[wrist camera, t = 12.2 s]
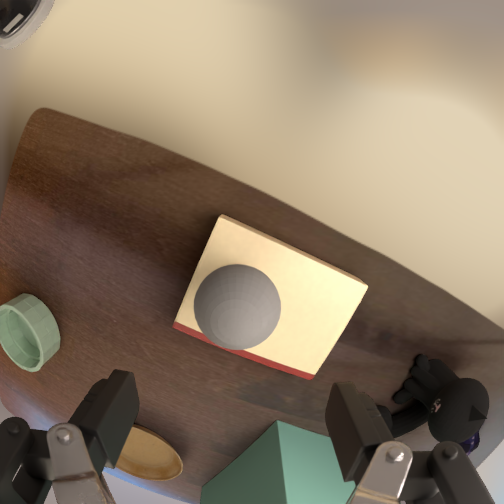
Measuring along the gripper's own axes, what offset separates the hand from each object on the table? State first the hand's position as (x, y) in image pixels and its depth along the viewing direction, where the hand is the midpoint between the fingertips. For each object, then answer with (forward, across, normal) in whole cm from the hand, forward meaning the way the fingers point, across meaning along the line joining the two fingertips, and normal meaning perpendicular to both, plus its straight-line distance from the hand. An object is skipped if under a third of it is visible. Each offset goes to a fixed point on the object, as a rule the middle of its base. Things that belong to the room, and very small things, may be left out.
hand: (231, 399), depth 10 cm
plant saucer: (+20, +15, +30) cm, 39 cm away
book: (+20, -3, +3) cm, 20 cm away
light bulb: (+17, 0, 0) cm, 17 cm away
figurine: (+20, -25, +18) cm, 37 cm away
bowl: (+20, +28, +10) cm, 36 cm away
